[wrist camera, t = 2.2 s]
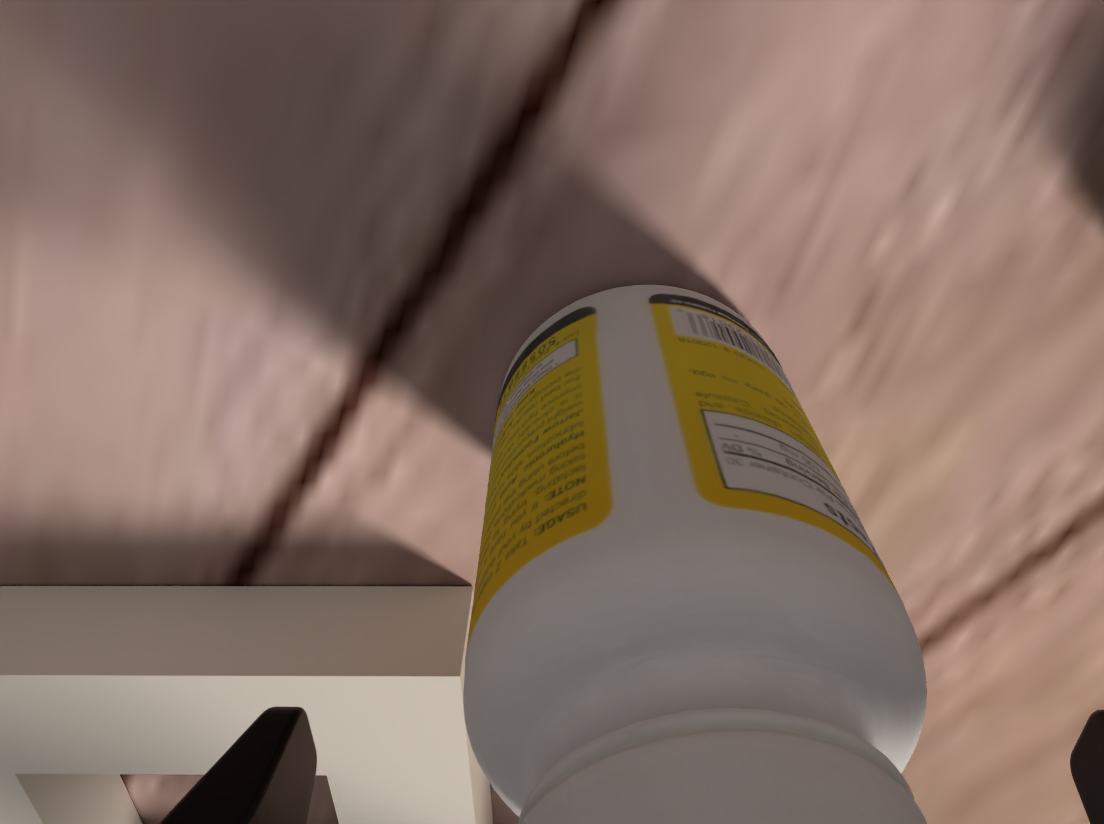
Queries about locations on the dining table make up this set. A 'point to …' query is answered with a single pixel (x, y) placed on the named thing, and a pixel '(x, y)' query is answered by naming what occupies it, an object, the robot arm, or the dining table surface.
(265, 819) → the robot arm
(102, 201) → the dining table surface
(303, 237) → the dining table surface
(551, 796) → the supplement bottle
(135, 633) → the hole plate
